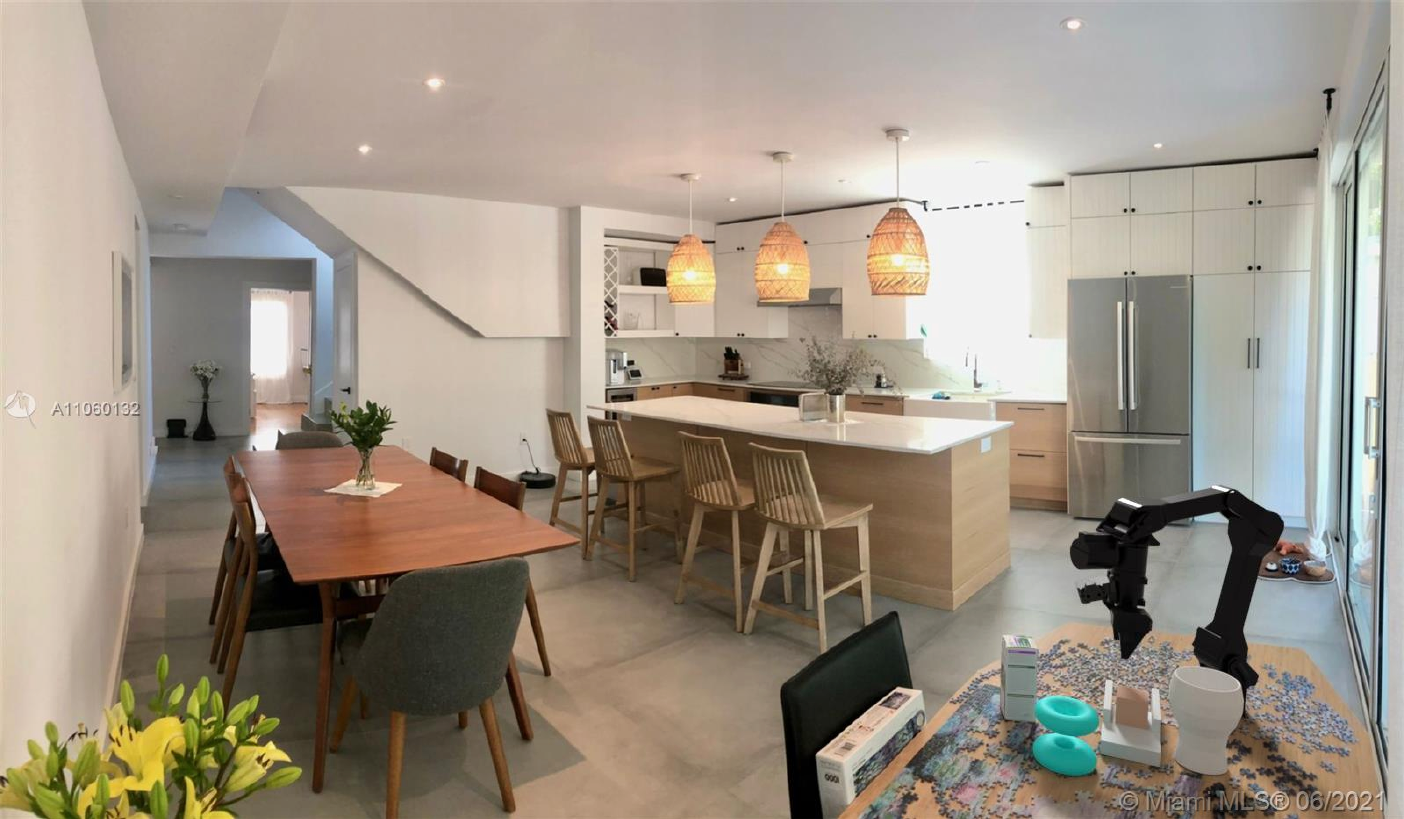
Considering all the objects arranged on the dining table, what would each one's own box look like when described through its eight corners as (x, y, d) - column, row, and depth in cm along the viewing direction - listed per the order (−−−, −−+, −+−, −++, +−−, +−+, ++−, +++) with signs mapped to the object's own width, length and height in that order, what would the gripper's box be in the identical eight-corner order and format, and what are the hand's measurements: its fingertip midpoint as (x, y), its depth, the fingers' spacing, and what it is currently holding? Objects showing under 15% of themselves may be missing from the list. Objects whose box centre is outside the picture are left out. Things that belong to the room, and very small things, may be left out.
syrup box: (1036, 723, 151) (1040, 648, 149) (1002, 720, 152) (1006, 645, 150) (1030, 708, 156) (1034, 636, 154) (998, 705, 157) (1001, 633, 156)
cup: (1238, 788, 130) (1246, 699, 128) (1162, 768, 136) (1168, 683, 134) (1237, 757, 139) (1244, 673, 137) (1165, 739, 145) (1171, 659, 143)
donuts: (1066, 726, 130) (1021, 698, 139) (1063, 784, 131) (1019, 753, 141) (1113, 715, 134) (1067, 688, 143) (1110, 772, 135) (1064, 742, 144)
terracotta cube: (1146, 717, 148) (1148, 691, 147) (1146, 729, 143) (1148, 702, 143) (1115, 710, 150) (1117, 685, 149) (1115, 723, 146) (1116, 696, 145)
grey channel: (1157, 714, 154) (1159, 689, 153) (1159, 767, 136) (1161, 739, 136) (1104, 703, 158) (1105, 679, 157) (1100, 753, 140) (1101, 726, 140)
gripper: (1075, 549, 161) (1069, 624, 163) (1086, 577, 143) (1078, 661, 145) (1138, 556, 157) (1131, 633, 159) (1157, 586, 140) (1148, 672, 142)
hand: (1120, 649), depth 151 cm, fingers open, 9 cm apart
